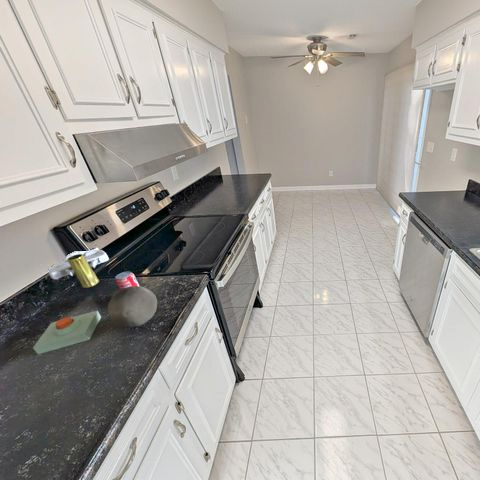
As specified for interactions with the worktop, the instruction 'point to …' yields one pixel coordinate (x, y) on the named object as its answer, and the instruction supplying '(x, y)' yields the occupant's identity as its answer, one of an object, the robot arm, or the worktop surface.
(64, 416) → the worktop surface
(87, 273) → the vase
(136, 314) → the cantaloupe
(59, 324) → the button
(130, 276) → the soda can
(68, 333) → the green push-button pad
